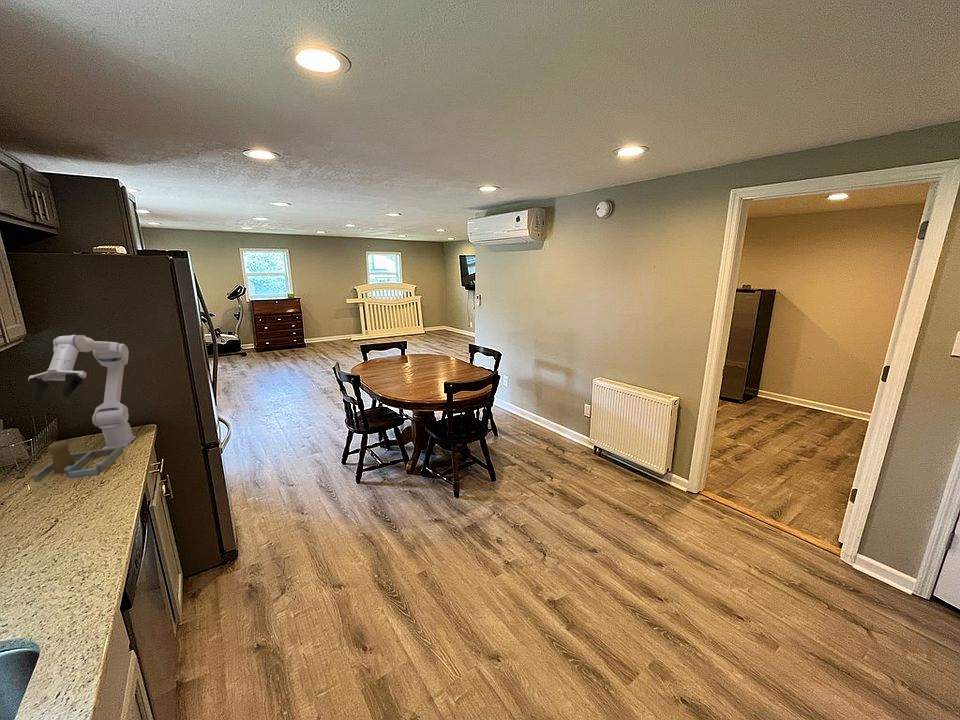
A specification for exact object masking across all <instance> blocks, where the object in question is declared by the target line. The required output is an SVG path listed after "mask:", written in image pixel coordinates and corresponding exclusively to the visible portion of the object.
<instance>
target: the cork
mask: <svg viewBox="0 0 960 720" xmlns="http://www.w3.org/2000/svg"><path fill="white" fill-rule="evenodd" d="M69 446H70V445H69V443H68V442H66V441H63V440H61V441H55V442H53V443H51V444H49V445H48V447H47V451H48V452H49V454H51V458H52V461H53V467H54V470H53V473H54V472H55V473H54V474H57V473H58V474H65V473H66V472H65V471H64V469H65V468H66V467H67V466H72V465H73V464H74V463H76V460H74V459H73V457H72V456H71V452H70V451H69Z"/></svg>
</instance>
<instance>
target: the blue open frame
mask: <svg viewBox="0 0 960 720" xmlns="http://www.w3.org/2000/svg"><path fill="white" fill-rule="evenodd" d="M123 453H124V450H123V447H115V448H108V449H102V448H101V449H95V450H94V449H93V450H87V451H79V452H72V453H71V452H70V454H71V456H72V457H73V459H74V461H75V463H74V464H73V465H72V466H67V467H66V468H65V469H64V471H65V472H64V473H65V475H66V477H68V478H69V479H73V478H78V477H85V476H91V475H97V474H99V473H101V472H102V473H103V472H104V471H105V470H106V469H107V468H108V467H109V466H110V465H111V464H112V463H114V462H115V460H117V458H119V457H120V456H121V455H122V454H123ZM106 456H107V457H106ZM100 457H105V458H104V459H103V460H102V461H101V460H100V461H98V462H96V463H95V467H93V468H84V469H82V468H83V467H84V466H86V464H88V463H90V462H91V460H93V459H94V458H100ZM50 472H51V473H52V472H54V467H53V460H52V461H50V462H49V463H48V464H47V465H45V466H44V467H43V468H41V469H39V470H38V471H37V472H36V473H34V474H33V475H32V477H33V481H34V482H35V483H37V482H40V481H42V480H43V479H44V478H45V477H47V476H48V475H49V474H51V473H50Z"/></svg>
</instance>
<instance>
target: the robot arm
mask: <svg viewBox="0 0 960 720" xmlns="http://www.w3.org/2000/svg"><path fill="white" fill-rule="evenodd" d="M52 341H53V342H52V344H53V347H52V348H53V349H52V351H53V355H52V358H51V361H50V364H49V366H48V368H47V370H46V371H44V372H41V373H37V374H33V375H29V377H28V379H27V381H28V382H29V384H30V386H31V390H32V399H33V400H35V401H37V402H38V401H41V400H42V397H43V394H44V392H45V391H46V390H47V389H48V387H49V386H50V384H49V383H47V382H46V381H56V382H59V381H60V382H63V381H64V386H63V389H62V393H61V394H62V396H64V397H65V398H70V397H71V395H72V393H74V391H75V390H76V389H77V388H78V387H80V386H81V385H82V384H83V383H84V380H83V379H86V378H87V374H88V373H87V372H86V371H84V370H74V367H75V363H76V360H77V358H78V354H79V352H82V353H89V352H91V351H92V355H93V357H94V358H95V359H96V360H97V362H98V363H99V364H100V365H101V366H102V367H105V368H106V369H107V371H106V372H107V373H106V380H105V387H104V389H105V390H104V396H103V397H104V398H103V403H100V404H99V405H98V406H96V407H95V408H94V409H95V410H94V413H93V415H92V417H91V418H92V419H91V420H92V421H91V422H92V424H93V425H94V426H95V427H98V429H99V430H100V429H101V432H102V434H103V437H104V441H105V446H103V447H102V448H101V449H108V448H115V447H122V448H125V447H127V446H128V445H129V444H130V443H132V441H134V439H135V438H136V437H137V436H136V435H134V434H133V430H132V428H131V425H130V423H129V422H128V421H129V416H130V415H129V408H128V407H127V405H125V404H123V403H121V398H122V387H123V377H124V372H125V371H124V368H125V366H126V365H128V364H129V363H128V362H129V355H130V354H129V353H130V352H129V348H128V346H127V345H126V344H125V343H120V342H115V341H103V340H102V341H101V340H97V341H96V340H94V339H93V338H91V337H87V336H86V335H82V334H79V335H77V334H70V335H61V336H57V337H55V338H54V339H53V340H52Z"/></svg>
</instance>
